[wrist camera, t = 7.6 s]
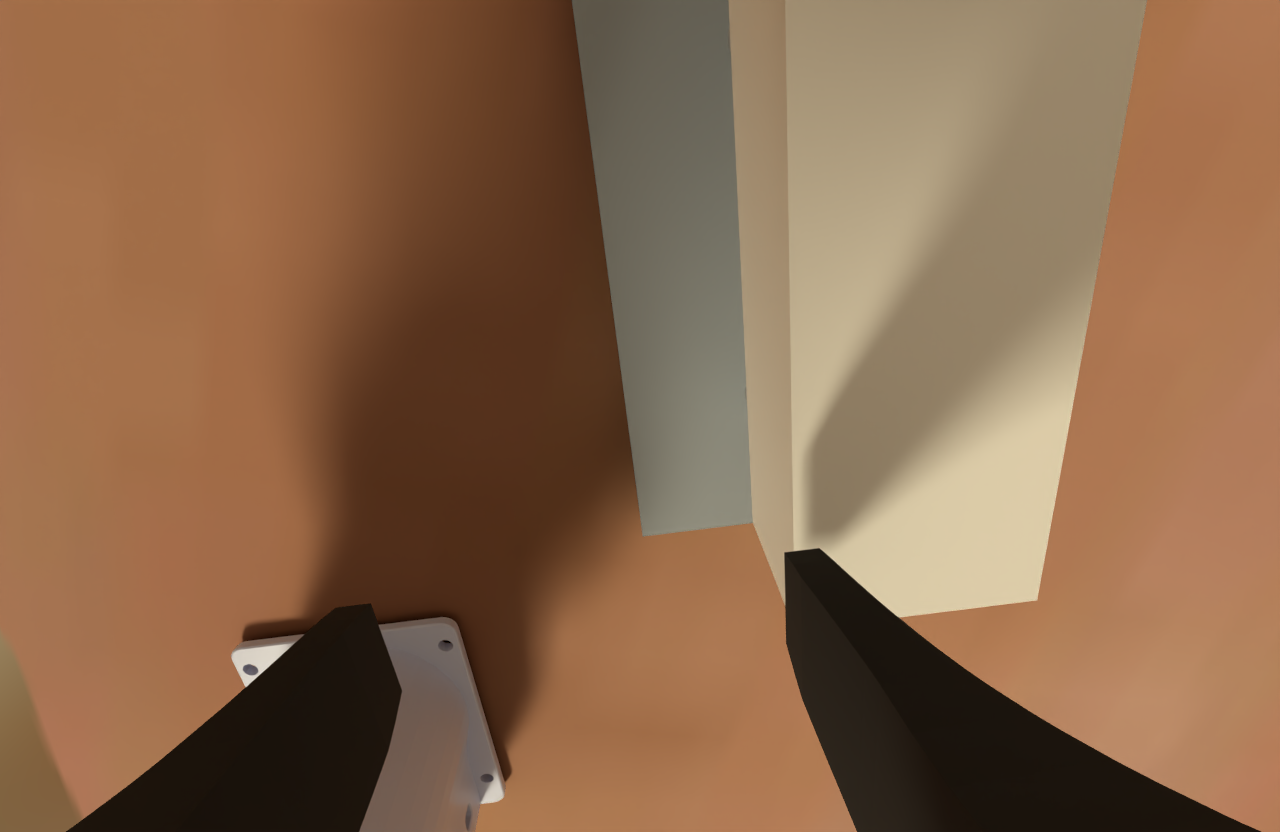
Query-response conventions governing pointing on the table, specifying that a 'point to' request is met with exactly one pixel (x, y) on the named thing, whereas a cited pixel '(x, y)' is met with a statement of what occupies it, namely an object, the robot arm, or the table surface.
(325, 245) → the table surface
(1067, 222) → the cream rectangular block
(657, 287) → the flat gray board
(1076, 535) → the table surface
